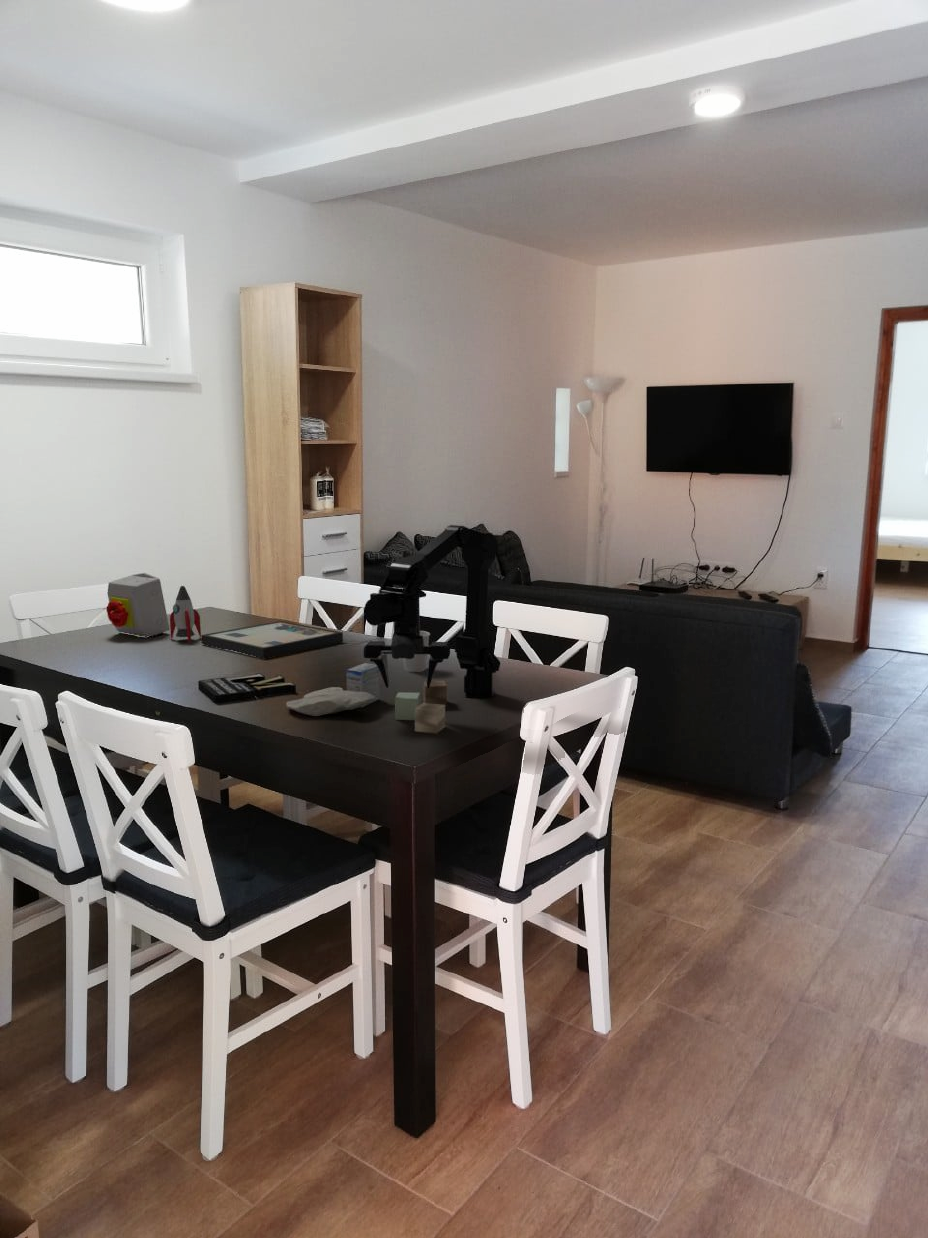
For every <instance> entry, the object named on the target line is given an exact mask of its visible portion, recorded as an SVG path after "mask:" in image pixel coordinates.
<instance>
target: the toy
mask: <svg viewBox="0 0 928 1238" xmlns="http://www.w3.org/2000/svg"><path fill="white" fill-rule="evenodd" d="M174 603H175V604H173V606H172V612H171V614H170V616H169V630H170V639H171V638H172V639H173V637H174V632H175V630H176V629H177V631H176V634H175V637H176V638H187V640H188V641H187V642H188V644H189V643H190V642H191V643H192V637H194V636H195V635H196V634H195V633H194V630H193V627H194V626H195V628H196V631H197V633H198V635H199V638H200V637H201V638H202V636H201V635H202V628H201V616H200V613H199V611H197V610H196V609H194V605H193V601H192V599H191V597H190V595H189V592H188V591H187V589H186V587H185V585H181V586H180V587H179V590H178V593H177V596H176V598H175V602H174Z"/></svg>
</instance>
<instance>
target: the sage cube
mask: <svg viewBox="0 0 928 1238" xmlns="http://www.w3.org/2000/svg"><path fill="white" fill-rule="evenodd" d="M420 705H421V693H420V692H397V694H396V696H395V698H394V716H395V717H394V719H395V721H396V720H397V721H398V720H399V721H401V720H402V721H415V708H417V707H418V706H420Z"/></svg>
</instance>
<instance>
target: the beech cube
mask: <svg viewBox="0 0 928 1238" xmlns="http://www.w3.org/2000/svg"><path fill="white" fill-rule="evenodd" d="M444 728H446V706H445V705H440V704H429V703H424V702H423V703H420V706H418V707H417V708H415V720H414V732H417V733H428V734H438V733H440V732H441V731H442V730H443V729H444Z"/></svg>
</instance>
